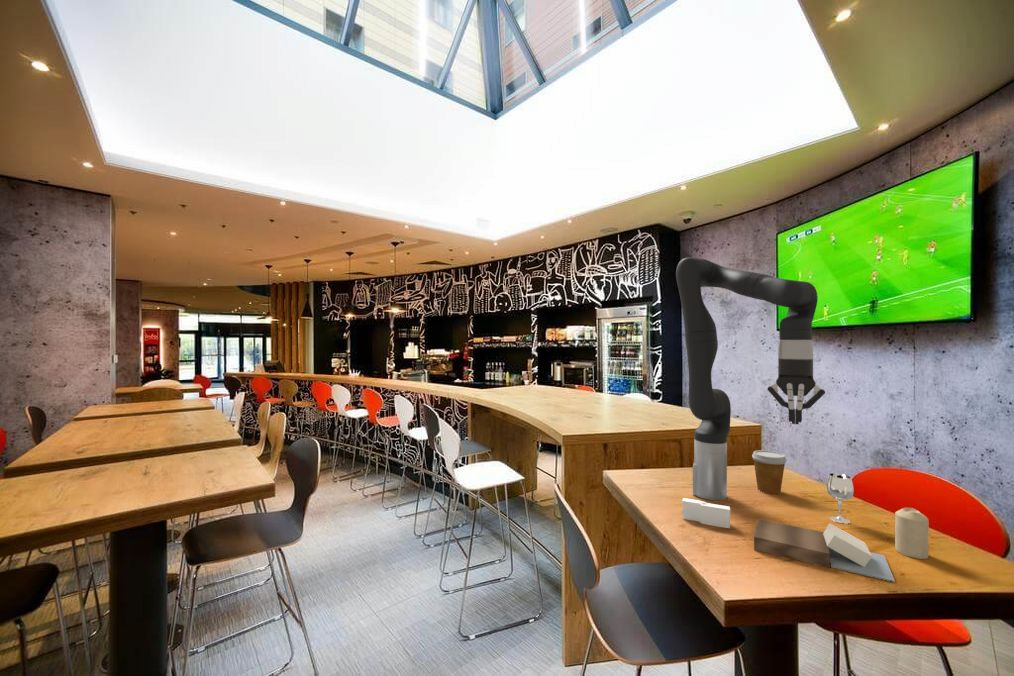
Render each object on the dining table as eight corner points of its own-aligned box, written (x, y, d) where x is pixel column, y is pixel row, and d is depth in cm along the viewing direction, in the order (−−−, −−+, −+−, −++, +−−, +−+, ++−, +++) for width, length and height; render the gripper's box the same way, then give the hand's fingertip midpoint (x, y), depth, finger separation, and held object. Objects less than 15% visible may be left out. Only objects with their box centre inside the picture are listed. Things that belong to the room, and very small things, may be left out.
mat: (831, 567, 91) (831, 565, 91) (827, 544, 101) (827, 543, 101) (894, 582, 85) (894, 580, 85) (884, 557, 95) (884, 555, 95)
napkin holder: (744, 529, 110) (744, 507, 110) (714, 538, 105) (714, 515, 105) (695, 508, 123) (695, 489, 123) (667, 515, 118) (667, 495, 118)
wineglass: (858, 525, 111) (858, 480, 111) (833, 523, 112) (833, 478, 112) (845, 516, 116) (845, 473, 116) (822, 515, 118) (822, 472, 118)
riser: (754, 549, 98) (754, 536, 98) (757, 530, 108) (757, 518, 108) (829, 567, 90) (829, 553, 90) (825, 545, 100) (826, 532, 100)
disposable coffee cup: (786, 489, 138) (786, 452, 138) (786, 498, 130) (786, 459, 130) (752, 484, 143) (752, 448, 143) (751, 492, 135) (751, 455, 135)
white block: (827, 546, 93) (834, 535, 93) (822, 533, 99) (829, 523, 99) (864, 567, 90) (872, 556, 89) (857, 553, 96) (864, 542, 95)
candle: (932, 562, 93) (932, 516, 93) (898, 555, 96) (898, 511, 96) (924, 551, 98) (924, 508, 98) (892, 545, 101) (892, 503, 101)
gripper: (764, 357, 111) (764, 423, 111) (828, 358, 103) (828, 429, 103) (766, 356, 117) (766, 418, 117) (826, 357, 109) (826, 424, 109)
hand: (795, 423), depth 110 cm, fingers closed
